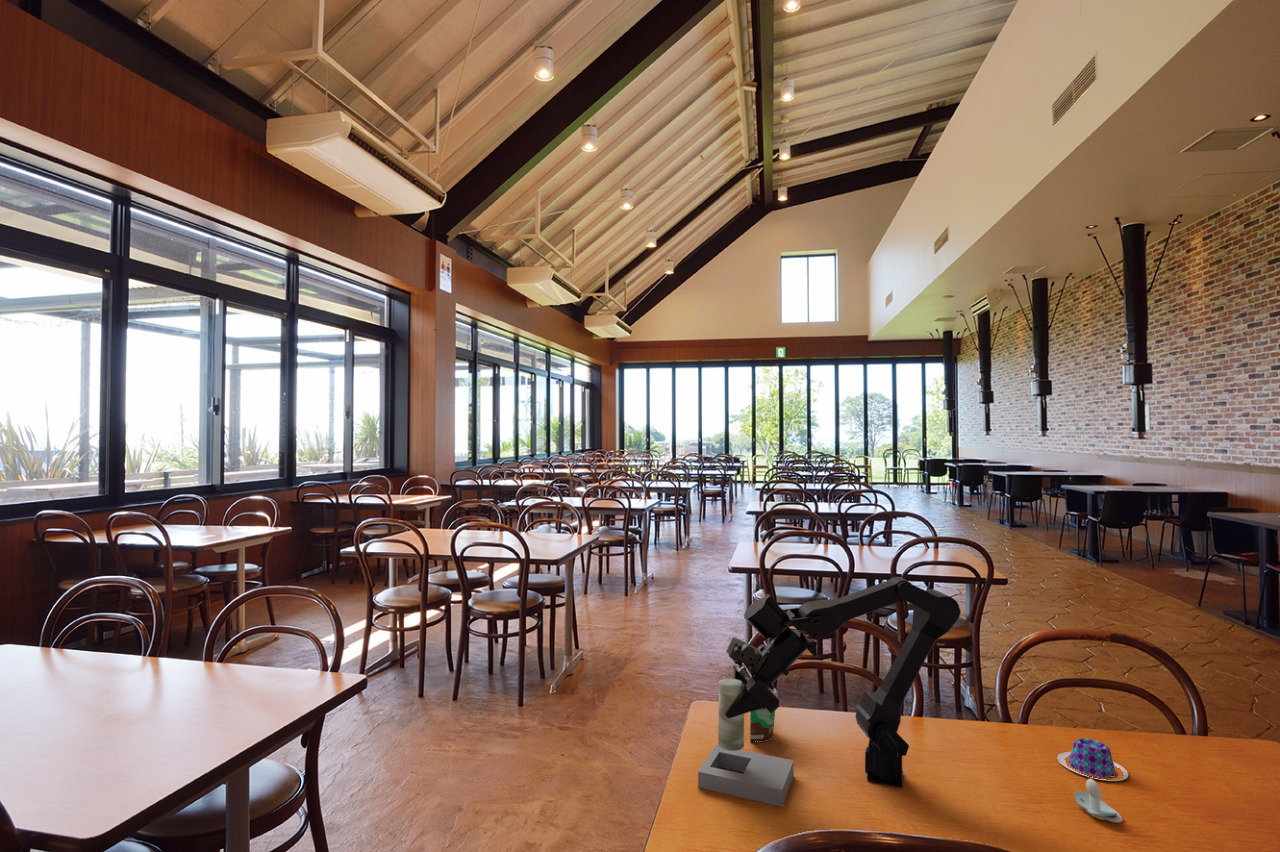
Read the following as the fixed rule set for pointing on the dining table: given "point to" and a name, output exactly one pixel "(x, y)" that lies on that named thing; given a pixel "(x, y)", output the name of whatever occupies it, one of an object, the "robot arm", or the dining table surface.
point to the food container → (761, 724)
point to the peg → (730, 727)
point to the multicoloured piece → (1091, 759)
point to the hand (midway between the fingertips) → (724, 710)
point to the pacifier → (1096, 803)
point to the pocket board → (747, 775)
